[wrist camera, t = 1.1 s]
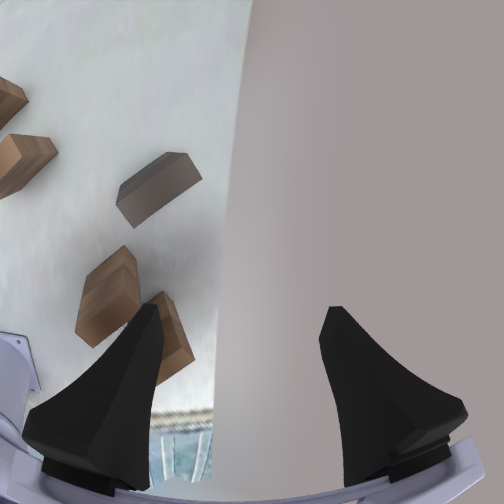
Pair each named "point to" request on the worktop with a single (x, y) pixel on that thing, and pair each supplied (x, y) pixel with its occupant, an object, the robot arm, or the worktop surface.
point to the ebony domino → (156, 186)
